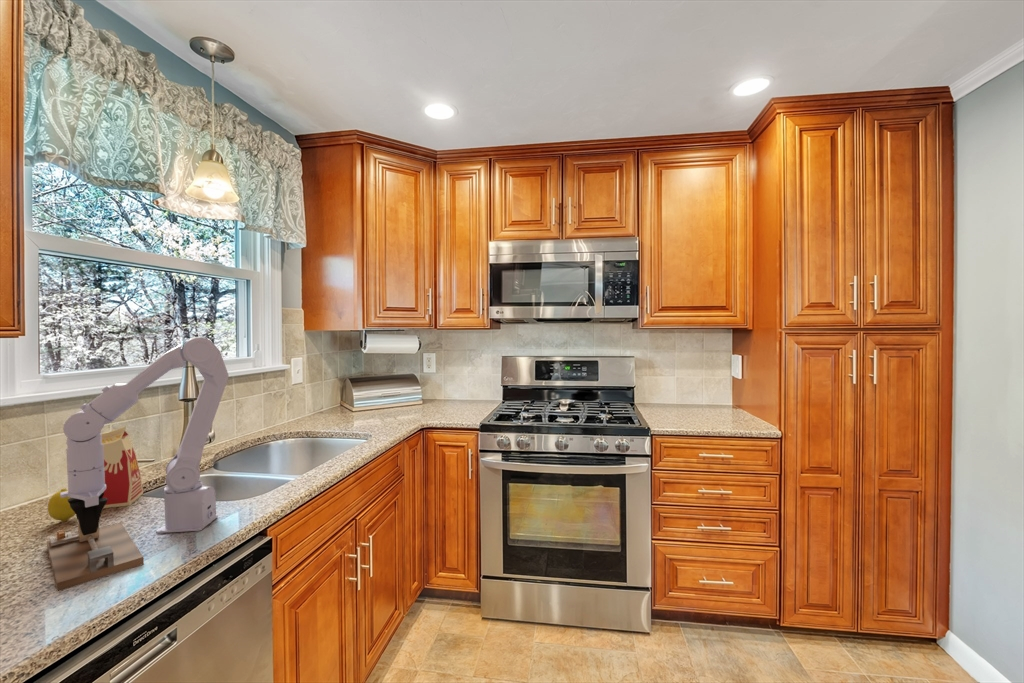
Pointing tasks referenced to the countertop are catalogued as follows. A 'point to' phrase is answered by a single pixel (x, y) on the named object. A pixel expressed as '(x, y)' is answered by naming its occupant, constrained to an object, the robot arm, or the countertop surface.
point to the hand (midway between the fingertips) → (88, 531)
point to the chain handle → (80, 536)
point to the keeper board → (78, 557)
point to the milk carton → (120, 469)
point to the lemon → (60, 507)
